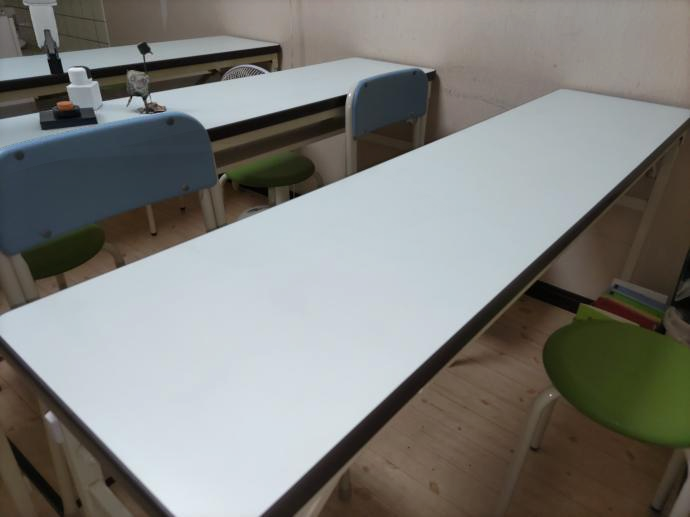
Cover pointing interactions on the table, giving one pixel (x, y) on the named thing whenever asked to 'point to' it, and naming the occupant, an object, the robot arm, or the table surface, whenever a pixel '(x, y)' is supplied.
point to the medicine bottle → (83, 88)
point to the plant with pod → (141, 84)
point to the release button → (65, 105)
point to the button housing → (67, 117)
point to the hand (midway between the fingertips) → (57, 73)
